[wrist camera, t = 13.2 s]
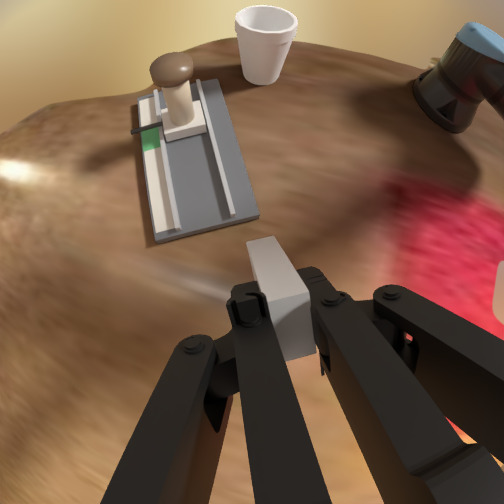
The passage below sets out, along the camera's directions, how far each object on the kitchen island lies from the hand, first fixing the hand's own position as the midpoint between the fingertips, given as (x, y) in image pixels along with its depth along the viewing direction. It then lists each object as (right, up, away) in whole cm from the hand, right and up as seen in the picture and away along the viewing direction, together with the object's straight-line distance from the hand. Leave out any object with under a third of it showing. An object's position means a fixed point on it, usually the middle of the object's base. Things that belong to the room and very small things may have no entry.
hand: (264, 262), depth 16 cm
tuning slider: (-13, +19, +25) cm, 34 cm away
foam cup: (+1, +32, +31) cm, 45 cm away
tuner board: (-10, +17, +27) cm, 33 cm away
